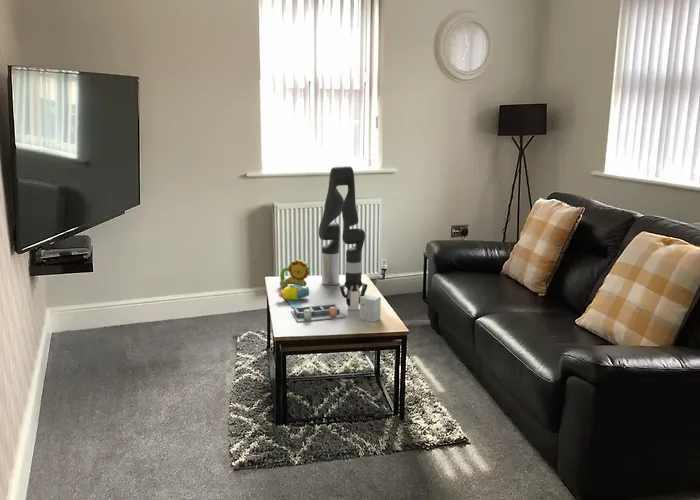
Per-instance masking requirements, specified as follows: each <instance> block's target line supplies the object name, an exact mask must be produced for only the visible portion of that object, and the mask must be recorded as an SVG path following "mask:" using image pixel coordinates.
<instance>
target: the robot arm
mask: <svg viewBox="0 0 700 500" xmlns="http://www.w3.org/2000/svg"><path fill="white" fill-rule="evenodd" d="M353 169H354V168H353V167H352V166H350V165H342V166H341V165H340V166H339V165H337V166H332V168H331V170H330V172H329V180H328V181H329V182H328V188H327V189H328V190H327V195H326V199H325V203H324V208H323V214H322V217H321V221H320V223H319V226H318V227H319V228H318V237H319V239H320V240H321V241H330V242H329V243H328V244H324V245H323V246H322V247H321V283H322V285H325V286H335V285H339V283H340V237H341V236H340V234H341V228H340V224H339V223H338V222H333V221H335V220H336V219H337V218H338V217H339V216H340V215H342V220H343V229H342V237H341V238H342V241H343V243H344V244H345V245H354V246H353V247H350V248H347V249H346V251H345V252H346V253H345V282H344V284H342V285H341V284H340V285H339V286H338V287H339V290H340V292H341V295H342V297H343V299H345V302H346V305H347V307H348V306H350V292H352V291H359V305H360V297H362V296H364V295H366V291H367V288H368V284H367V283H365V282H362V281H363V280H362V271H363V268H362V250H363V247H364V244H365V240H366V233H365V230H364V229H363V228H352V227H353V226H356V225H358V223H359V217H358V211H357V204H356V186H355V182H356V181H355V173H354V170H353ZM339 186H347V193H346V196H345V198H343V196H342V194H341V192H340V191H339V190H338V189H337V188H338V187H339ZM361 287H362V288H361ZM345 289H347V290H346V292H345Z"/></svg>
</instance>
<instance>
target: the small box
mask: <svg viewBox="0 0 700 500" xmlns="http://www.w3.org/2000/svg"><path fill="white" fill-rule="evenodd" d="M381 298H382V297H381V296H377V295H370V294H365V295H364V296H362V297H360V304H359V320H362V321H365V322H366V321H368V322H372V323H376V322H378V321H380V319H381V315H382V314H381V313H382V312H381V309H382V308H381V307H382V306H381V304H382V303H381V300H382V299H381Z"/></svg>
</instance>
